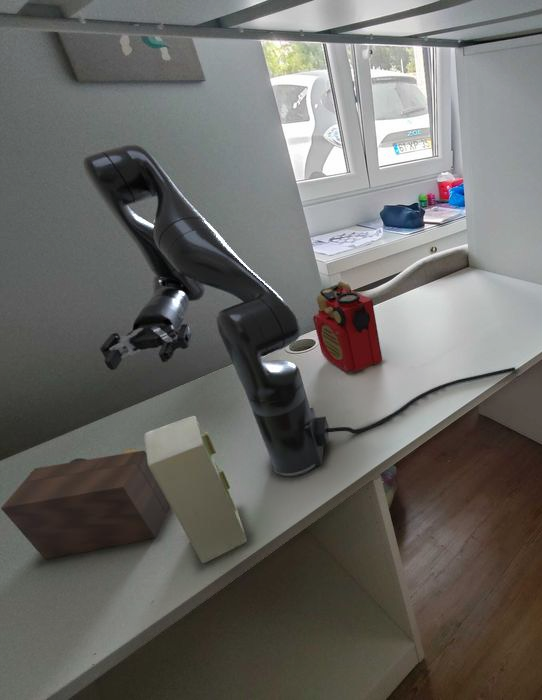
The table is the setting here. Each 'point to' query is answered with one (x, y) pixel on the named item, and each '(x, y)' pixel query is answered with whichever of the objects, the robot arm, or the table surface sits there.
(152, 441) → the toy refrigerator
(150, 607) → the table surface
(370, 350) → the radio
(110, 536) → the control box
